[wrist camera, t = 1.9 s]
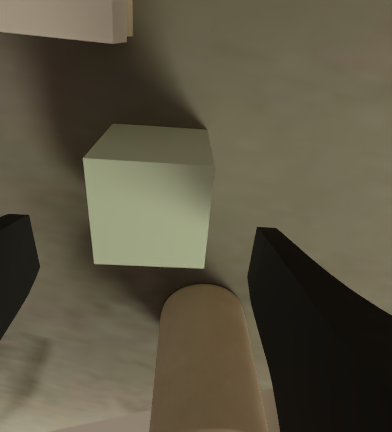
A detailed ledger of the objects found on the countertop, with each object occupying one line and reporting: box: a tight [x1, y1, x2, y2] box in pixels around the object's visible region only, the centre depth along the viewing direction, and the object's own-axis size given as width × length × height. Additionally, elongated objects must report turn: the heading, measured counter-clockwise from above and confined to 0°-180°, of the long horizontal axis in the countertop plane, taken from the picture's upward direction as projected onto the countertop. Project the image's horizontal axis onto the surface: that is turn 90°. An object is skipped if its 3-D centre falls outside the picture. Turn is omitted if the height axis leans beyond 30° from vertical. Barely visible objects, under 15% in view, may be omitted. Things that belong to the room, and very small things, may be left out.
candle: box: [149, 284, 268, 432], centre depth 17 cm, size 6×6×10 cm
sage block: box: [83, 123, 215, 269], centre depth 14 cm, size 4×4×5 cm
